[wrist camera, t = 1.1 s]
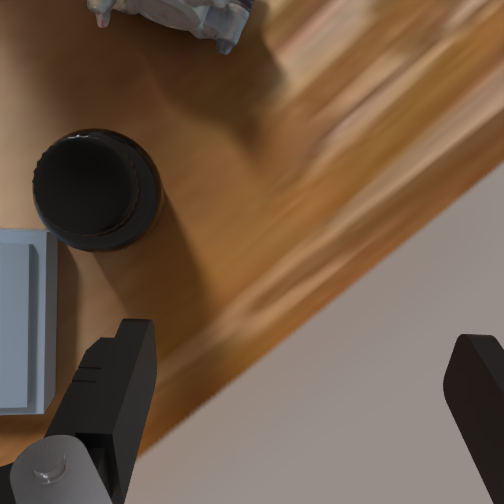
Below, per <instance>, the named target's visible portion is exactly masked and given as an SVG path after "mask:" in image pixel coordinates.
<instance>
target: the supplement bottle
mask: <svg viewBox="0 0 504 504" xmlns="http://www.w3.org/2000/svg"><path fill="white" fill-rule="evenodd" d="M32 182H33V199H34V204H35V207H36V210H37V212H38V215H39V217H40V219H41V220H42V222H43V223H44V225H45V226H46V228H47V229H48V230H49V231H50V232H51V233H52V234H53V235H54V236H55V237H56V238H58V239H59V240H60V241H62V242H63V243H65V244H67V245H69V246H71V247H73V248H76V249H78V250H82V251H86V252H93V253H106V252H113V251H117V250H121V249H124V248H126V247H128V246H130V245H132V244H134V243H136V242H138V241H140V240H142V239H143V238H145V237H146V236H147V235H148V234H149V233H150V232H151V231H152V230H153V229H154V228H155V227H156V225H157V224H158V222H159V220H160V218H161V215H162V212H163V208H164V191H163V186H162V182H161V179H160V175H159V172H158V170H157V167H156V165H155V164H154V162H153V160H152V159H151V157H150V156H149V155H148V153H147V152H146V151H145V150H144V149H143V148H142V147H141V146H140V145H139V144H138V143H136V142H135V141H134V140H132V139H131V138H129V137H127V136H125V135H123V134H121V133H118V132H115V131H111V130H107V129H98V128H92V129H83V130H79V131H75V132H72V133H70V134H67V135H65V136H63V137H62V138H60V139H59V140H57V141H56V142H54V143H53V144H52V145H51V146H50V147H49V148H48V149H47V150H46V151H45V152H44V153H43V154H42V157H41V159H40V160H39V161H38V162H37V167H36V169H35V170H34V178H33V181H32Z"/></svg>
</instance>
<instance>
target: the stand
mask: <svg viewBox="0 0 504 504" xmlns="http://www.w3.org/2000/svg"><path fill="white" fill-rule="evenodd" d="M57 276H58V238H56V237H55V236H54V235H53V234H52V233H51V232H50V231H49V230H36V229H11V228H0V415H22V414H44V412H45V411H46V409H47V408H48V406H49V405H50V403H51V401H52V400H53V398H54V397H55V390H56V333H57Z"/></svg>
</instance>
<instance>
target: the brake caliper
mask: <svg viewBox="0 0 504 504" xmlns="http://www.w3.org/2000/svg"><path fill="white" fill-rule="evenodd" d="M253 1H254V0H87V8H88V9H89V10H90V11H92V12H93V13H95V14H96V18H97V25H98V26H99V27H101V28H104V27H107V26H108V25H109V21H110V17H111V13H112V10H113V9H116V10H118V11H120V12H122V13H124V14H128V15H134V14H138V13H140V14H141V15H143V16H144V17H146V18H147V19H150V20H151V21H154V22H156V23H159V24H161V25H163V26H166V27H170V28H174V29H178V30H185V31H189V32H191V33H192V34H193V35H194V36H195V37H196V38H199V39H207V38H208V39H213V40H215V41H216V45H217V52H218V53H219V54H221V55H227V54H229V53H230V51H231V50H232V48H233V47H234V46H235V45H236V44H237V43H238V41H239V38H240V35H241V32H242V30H243V28H244V26H245V24H246V23H247V20H248V18H249V15H250V10H251V6H252V3H253Z"/></svg>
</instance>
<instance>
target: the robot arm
mask: <svg viewBox="0 0 504 504" xmlns="http://www.w3.org/2000/svg"><path fill="white" fill-rule="evenodd" d="M156 375H157V359H156V345H155V332H154V323H153V320H149V319H126V318H124V319H123V320H122V321H121V324H120V326H119V328H118V331H117V333H116V335H115V338H105V337H101V338H100V339H99V340H97V341H96V342H95V343H94V344H93V345H92V346H91V347H90V348H89V349H88V350H86V352H85V354H84V356H83V358H82V360H81V362H80V364H79V366H78V370H77V371H76V373H75V375H74V377H73V379H72V383H70V385H69V387H68V389H67V391H66V393H65V395H64V397H63V399H62V402H61V404H60V406H59V408H58V410H57V412H56V414H55V416H54V418H53V420H52V422H51V424H50V426H49V428H48V430H47V433H46V434H45V436H44V438H43V439H40V440H38V441H36V442H35V443H33V444H31V445H30V446H28V447H27V448H26V449H25V450H24V451H23V452H22V453H21V454H20V455H19V456H18V457H17V459H16V460H15V462H13V463H10V464H8V465H5V466H2V467H0V504H124V502H125V498H126V494H127V491H128V487H129V483H130V479H131V475H132V471H133V468H134V464H135V460H136V456H137V453H138V449H139V445H140V441H141V437H142V434H143V430H144V426H145V422H146V419H147V415H148V411H149V407H150V403H151V400H152V396H153V392H154V388H155V383H156ZM443 390H444V396H445V400H446V402H447V404H448V406H449V409H450V411H451V413H452V415H453V417H454V419H455V422H456V424H457V426H458V428H459V430H460V432H461V434H462V437H463V439H464V441H465V443H466V445H467V447H468V450H469V452H470V454H471V456H472V458H473V460H474V463H475V465H476V467H477V469H478V471H479V473H480V475H481V478H482V479H483V482H484V484H485V486H486V488H487V490H488V492H489V495H490V497H491V499H492V501H493V503H494V504H504V349H503V348H502V347H501V345H500V344H499V342H498V341H497V339H496V338H495V337H494V336H492V335H475V334H461V335H460V336H459V337H458V338H457V341H456V343H455V347H454V349H453V352H452V355H451V358H450V361H449V364H448V367H447V370H446V373H445V376H444V381H443Z"/></svg>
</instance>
